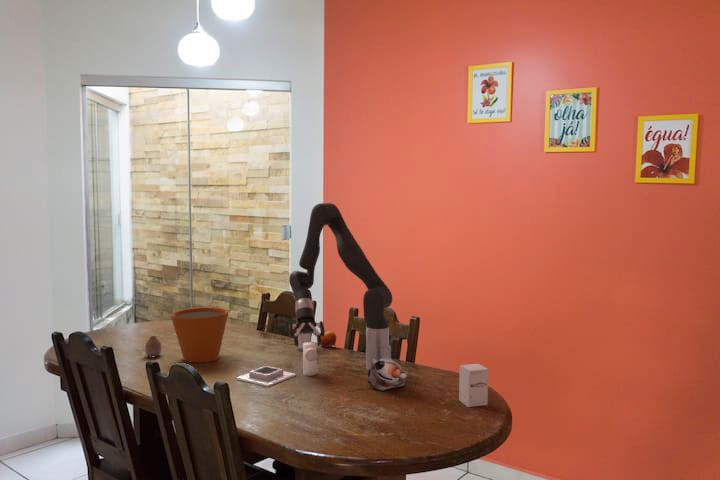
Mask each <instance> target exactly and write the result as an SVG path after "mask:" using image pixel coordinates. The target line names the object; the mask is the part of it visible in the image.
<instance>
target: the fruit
mask: <svg viewBox="0 0 720 480" xmlns="http://www.w3.org/2000/svg"><path fill="white" fill-rule="evenodd" d="M336 342H337V334H336V333H335V332H333V331H332V330H329V331H325V334H324V337H321V345H320V346H322V347H324V348H331V347H333V346H335V347H337V346H336ZM328 346H329V347H328Z"/></svg>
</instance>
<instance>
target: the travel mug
mask: <svg viewBox="0 0 720 480" xmlns="http://www.w3.org/2000/svg"><path fill="white" fill-rule="evenodd" d="M297 330H298V329H297V328H296V331H297ZM311 338H312V333H310V334H308V333H306V334H303V333H301V334H300V336H298V347H296V348H297V350H298V351H301V352H303V343H306V342H312V339H311Z"/></svg>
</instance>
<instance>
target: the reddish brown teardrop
mask: <svg viewBox="0 0 720 480" xmlns="http://www.w3.org/2000/svg"><path fill="white" fill-rule="evenodd" d="M162 347H163V346H162V343H161V342H160V340H159V339H158V338H157V336H155V335H152V336H149V339H148V340H147V341H146V343H145V346H144V352H145V355H146V356H147V357H148V356H151V357H150V358H153V357H152V356H158V355H159V356H160V355H161V353H162V349H163V348H162ZM159 356H158V357H159Z"/></svg>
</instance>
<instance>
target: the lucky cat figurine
mask: <svg viewBox="0 0 720 480" xmlns="http://www.w3.org/2000/svg"><path fill="white" fill-rule="evenodd" d="M367 375H368V376H367V377H368V378H367V379H368V380H367V384H369V385H370V386H371V388H372V389H375V390H379V391H382V392H383V391H386V390H390V389H392V388H398V387H399V388H400V387H405V385H406V379H407V377H408V371H407V370H403V368H402V366H401V364H400V363H398V362H396V361H395V360H393V359H392V358H391V359H380V360H379V361H377V360H376V359H373V360H372V361H371V368H370V369H369V370H368V373H367Z"/></svg>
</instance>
